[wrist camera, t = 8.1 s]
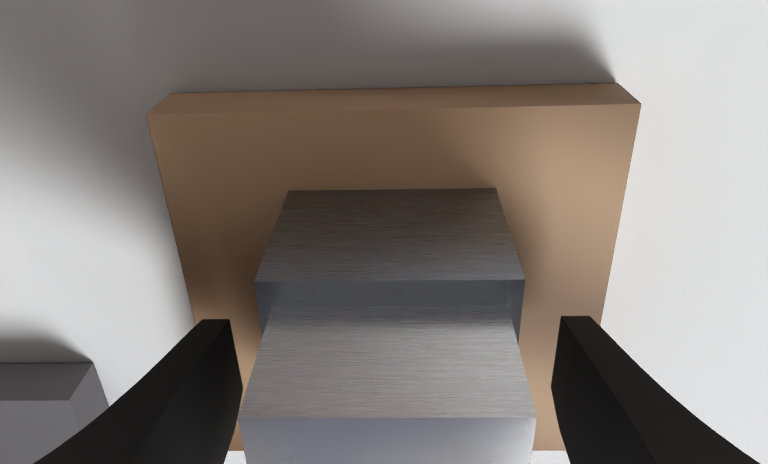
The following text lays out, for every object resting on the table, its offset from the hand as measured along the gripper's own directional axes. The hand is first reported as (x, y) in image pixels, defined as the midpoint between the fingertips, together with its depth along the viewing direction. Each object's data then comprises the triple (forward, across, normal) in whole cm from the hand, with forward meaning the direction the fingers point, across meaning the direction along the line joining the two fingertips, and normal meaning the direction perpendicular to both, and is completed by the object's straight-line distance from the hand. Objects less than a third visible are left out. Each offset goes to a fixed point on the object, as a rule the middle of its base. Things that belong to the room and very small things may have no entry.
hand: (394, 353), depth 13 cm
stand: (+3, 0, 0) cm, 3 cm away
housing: (+2, 0, 0) cm, 2 cm away
